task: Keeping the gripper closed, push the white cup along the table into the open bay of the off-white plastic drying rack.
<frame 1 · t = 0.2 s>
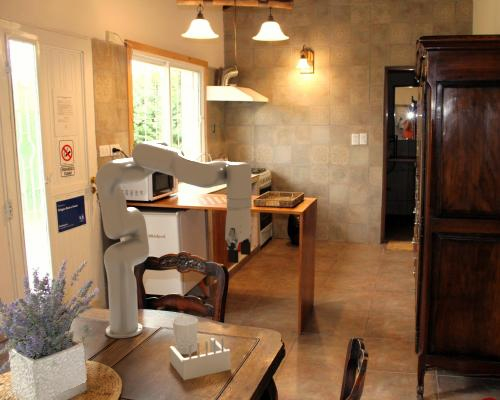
hand: (239, 258, 166), 31 cm above the table, tool pointing down, fingers open, 9 cm apart
drying rack: (199, 365, 163), on the table
white cup: (185, 350, 174), on the table
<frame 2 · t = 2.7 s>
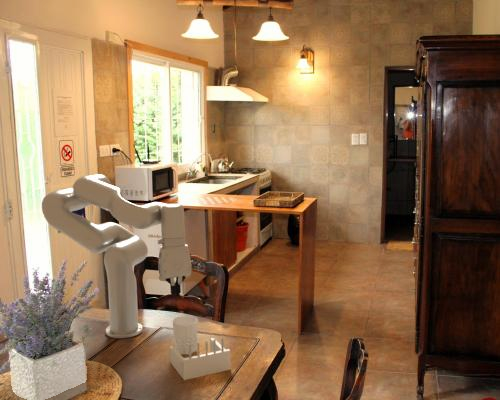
hand: (175, 295, 180), 15 cm above the table, tool pointing down, fingers closed
nothing on the table moved.
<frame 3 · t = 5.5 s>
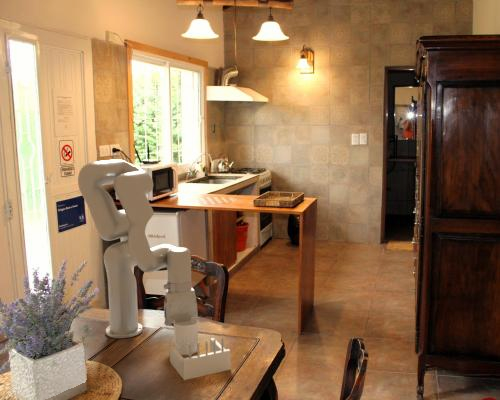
hand: (181, 339, 177), 2 cm above the table, tool pointing down, fingers closed
white cup: (186, 351, 173), on the table, touching gripper
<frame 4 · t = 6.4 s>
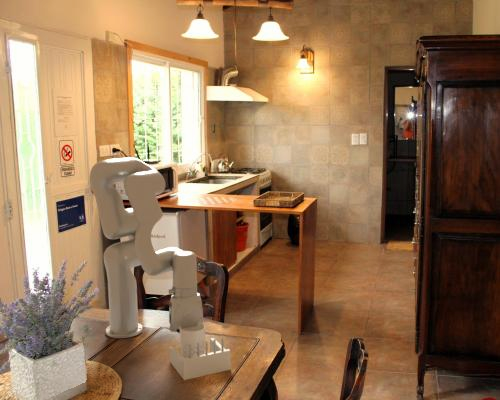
hand: (186, 346, 173), 2 cm above the table, tool pointing down, fingers closed
white cup: (192, 357, 168), on the table, touching gripper
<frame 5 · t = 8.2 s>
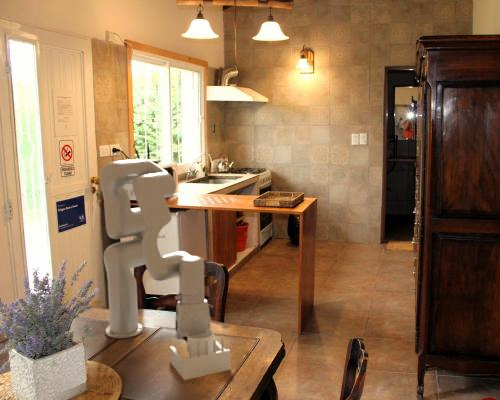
hand: (193, 354, 167), 1 cm above the table, tool pointing down, fingers closed
white cup: (201, 365, 163), on the table, touching gripper
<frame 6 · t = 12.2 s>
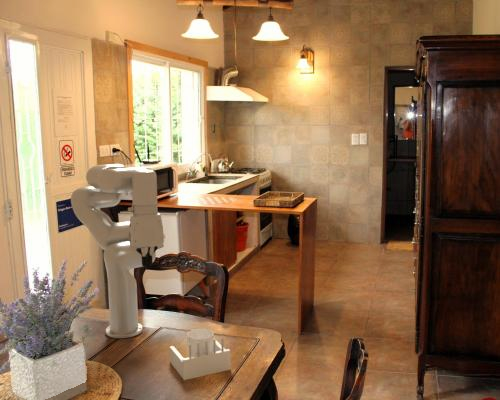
hand: (147, 267, 170), 27 cm above the table, tool pointing down, fingers closed
white cup: (201, 365, 163), on the table
at the end: white cup inside the target area on the drying rack (1.7 cm from its centre), point 0.0 cm above the drying rack's base; white cup tilted 0° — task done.
